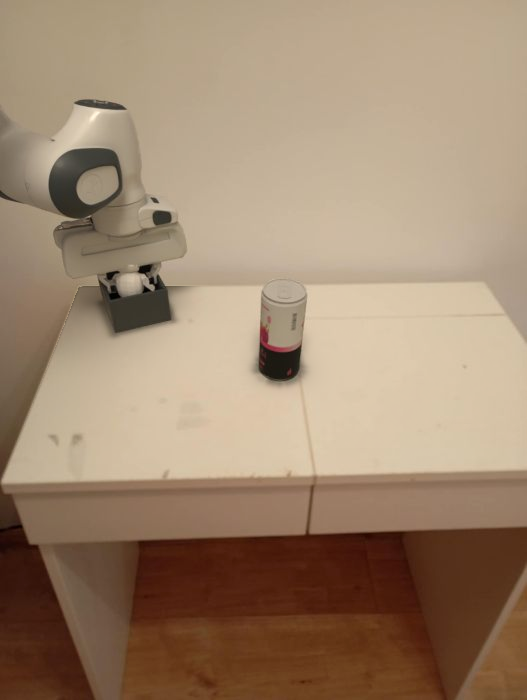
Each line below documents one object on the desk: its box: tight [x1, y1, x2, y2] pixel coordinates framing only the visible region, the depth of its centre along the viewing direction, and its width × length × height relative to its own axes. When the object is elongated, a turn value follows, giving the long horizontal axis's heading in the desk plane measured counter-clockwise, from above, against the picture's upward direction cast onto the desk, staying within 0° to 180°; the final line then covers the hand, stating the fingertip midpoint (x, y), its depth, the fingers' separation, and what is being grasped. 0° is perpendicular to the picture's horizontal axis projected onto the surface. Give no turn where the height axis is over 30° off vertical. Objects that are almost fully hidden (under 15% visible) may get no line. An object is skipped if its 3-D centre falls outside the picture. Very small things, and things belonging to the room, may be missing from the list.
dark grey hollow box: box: [96, 264, 172, 334], centre depth 84 cm, size 10×10×6 cm
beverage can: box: [258, 277, 308, 381], centre depth 71 cm, size 7×7×15 cm
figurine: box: [112, 265, 155, 298], centre depth 82 cm, size 8×5×12 cm, turn 93°
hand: (132, 287), depth 83 cm, fingers closed on figurine, 6 cm apart
